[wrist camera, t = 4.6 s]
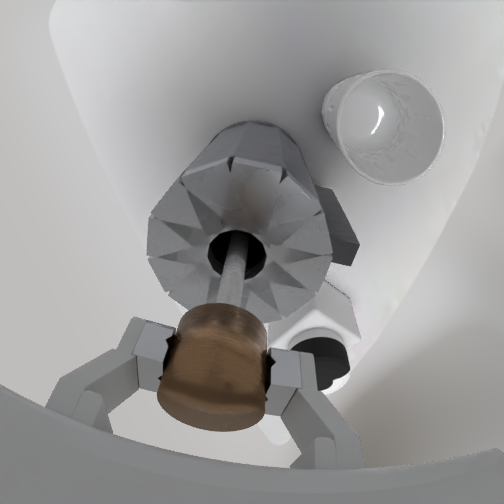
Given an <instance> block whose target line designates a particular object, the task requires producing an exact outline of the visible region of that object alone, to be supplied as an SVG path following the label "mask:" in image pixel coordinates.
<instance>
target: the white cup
mask: <svg viewBox="0 0 504 504" xmlns="http://www.w3.org/2000/svg"><path fill="white" fill-rule="evenodd" d="M321 113H322V117H323V121H324V125H325V128H326V129H327V131H328V133H329V135H330V137H331V138H332V140H333V141H334V143H335V145H336V146H337V148H338V149H339V150H340V151H341V153H342V154H343V156H344V157H345V158H346V160H347V161H348V163H349V164H350V165H351V166H352V168H353V169H354V170H355V171H356V172H358V173H359V174H360V175H361V176H363V177H364V178H366V179H368V180H370V181H372V182H374V183H377V184H381V185H387V186H398V185H404V184H408V183H411V182H413V181H415V180H417V179H419V178H420V177H422V176H423V175H425V174H426V173H427V172H428V171H429V170H430V169H431V168H432V167H433V165H434V164H435V163H436V161H437V159H438V158H439V156H440V154H441V151H442V148H443V145H444V140H445V119H444V114H443V111H442V108H441V105H440V103H439V101H438V99H437V97H436V96H435V94H434V93H433V92H432V90H431V89H430V88H429V87H428V86H427V85H426V84H425V83H424V82H423V81H421V80H420V79H419V78H417V77H415V76H414V75H412V74H409V73H407V72H404V71H400V70H394V69H383V70H377V71H372V72H368V73H363V74H359V75H355V76H352V77H349V78H347V79H345V80H343V81H341V82H339V83H336V84H334V86H333V87H332V88H331V89H330V90H329V92H328V93H327V94H326V95H325V97H324V101H323V106H322V110H321Z"/></svg>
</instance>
